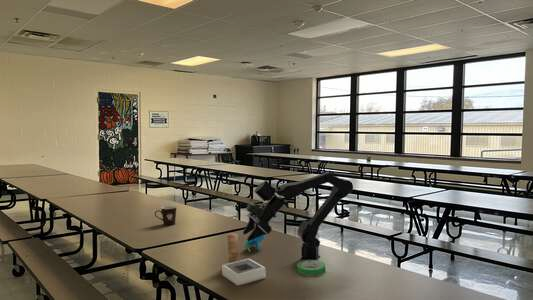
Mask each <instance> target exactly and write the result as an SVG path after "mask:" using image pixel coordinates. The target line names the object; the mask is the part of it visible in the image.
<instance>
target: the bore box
mask: <svg viewBox="0 0 533 300" xmlns="http://www.w3.org/2000/svg"><path fill="white" fill-rule="evenodd" d="M266 274H267V273H266V267H265V266H264V265H262V264H260V263H258V262H256V261H254V260H253V259H251V258H245V259H244V258H243V259H241V260H238V261H236V262H232V263H228V262H227V263H225V264H221V275H222V277H224V278H226V279H227V280H229V281H230V282H231V283H233V284H234V285H236V286H237V287H238V286H242V285H246V284H249V283H253V282H256V281H261V280H263V279H266V276H267V275H266Z"/></svg>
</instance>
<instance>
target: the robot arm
mask: <svg viewBox="0 0 533 300" xmlns="http://www.w3.org/2000/svg"><path fill="white" fill-rule="evenodd" d="M327 183H328V184H329V185H332V188H331V191H330V194H329V195H328V197H327V198H326V199H325V200H324V202H323V203H322V204H321V205H320V207H318V209H317V210H316V211H315V213H314V214H313V215H312V217H311V218H310V219H309V220H308V221H306V220H305V219H303V220H302V222H301V224H300V225H299V226H297V228H298V229H297V236H298V238H299V239H300V240H301V242H302V246H301V247H300V248H301V253H300V254H301V258H300V259H301V260H302V261H303V260H319V258H321V256H320V255H319V254H320V253H319V252H320V251H319V250H320V249H319V247H320V244H321V241H320V240H319V239H318V238H317V237H316V236H317V234H318V232H319V228H320V226H321V225H322V224H323V222H324V221H325V220H326V218H327V217H328V216H329V214H331V213H332V211H333V210H334V208H335V207H336V206H337V204H338V203H339V202H340V200H343V199H344V198H346V197H347V196H348V195H349V194H351V193H352V192H353V190H354V185H353V184H354V183H352V181H351V180H348V179H346V178H342V177H341V178H340V177H338V176H336V175H334V174H333V173H331V172H328V171H325V172H323V173H321V174H318V175H314V176H312V177H309V178H306V179H304V180H301V181H295V182H293V181H292V182H288V183H287V182H286V183H283V184H281V185H280V186H277V187H273V186H272V184H270V183H269V182H268V180H264V181H263V182H261V183H260V184H258V185H257V186H256V187H255V189H254V191H253V192H254V194H255V195H257V196H258V197H259V198H260V199H261V200H262V201H263V202H266V201H267V203H266V204H262V205H259V204H257V203H253V202H250V201H249V202H248V203H247V206H246V209H245V210H246V211H247V212H249V213H248V221H247V223H246V226H245V227H244V230H243V232H242V234H243V235H246V234H249V233H250V234H249V235H248V236H247V239H246V241H247V240H248V241H250V240H253V239H255V238H257V237H260V236H262V235H264V236H266V235H269V234H270V233H271V232H272V229H273V228H272V226H271V225H270V223H269V222H270V221H271V220H272V219H273V218H274V219H275V218H276V217H277V216H276V215H277V214H278V212H279V211H281V209H282V208H283V207H285V208H287V209H289V208H290V207H289V205H290V204H289V201H288V200H292V199H294V198H296V197H297V196H299V195H301V193H303V192H305V191H308V190H311V189H314V188H316V187H319V186H321V185H324V184H327ZM277 195H278V196H277ZM284 198H285V199H284Z"/></svg>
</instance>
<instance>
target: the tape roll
mask: <svg viewBox="0 0 533 300" xmlns="http://www.w3.org/2000/svg"><path fill="white" fill-rule="evenodd" d="M296 271H297V273H299V274H301V275H303V276H308V277H309V276H310V277H315V276H320V275H321V276H322V275H323V274H325V273H326V263H325V262H323V261H321V260H319V259H317V260H303V259H302V260H301V261H299V262H297V263H296Z"/></svg>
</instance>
